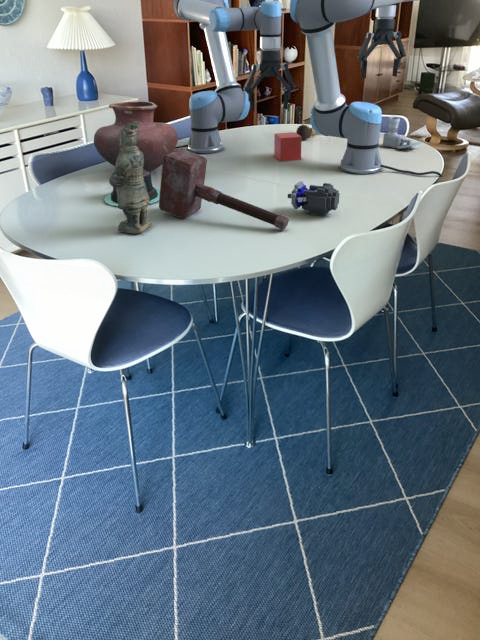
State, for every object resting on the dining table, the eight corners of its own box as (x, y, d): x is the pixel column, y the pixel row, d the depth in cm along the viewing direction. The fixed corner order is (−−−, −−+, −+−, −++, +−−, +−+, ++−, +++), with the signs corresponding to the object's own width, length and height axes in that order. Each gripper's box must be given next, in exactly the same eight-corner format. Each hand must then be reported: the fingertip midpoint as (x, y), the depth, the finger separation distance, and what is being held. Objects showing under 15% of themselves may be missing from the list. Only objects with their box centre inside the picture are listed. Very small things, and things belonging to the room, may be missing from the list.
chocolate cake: (91, 202, 180) (113, 186, 197) (142, 231, 182) (160, 212, 199) (107, 162, 172) (129, 148, 190) (160, 192, 174) (177, 176, 192)
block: (294, 154, 233) (294, 132, 229) (300, 159, 226) (301, 136, 221) (274, 155, 232) (274, 133, 227) (280, 161, 224) (280, 138, 220)
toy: (295, 178, 172) (342, 184, 166) (295, 205, 177) (340, 211, 171) (285, 186, 166) (333, 192, 160) (284, 213, 170) (331, 220, 164)
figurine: (338, 121, 266) (314, 124, 247) (336, 138, 269) (312, 141, 250) (313, 119, 272) (288, 121, 253) (312, 135, 275) (287, 138, 256)
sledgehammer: (299, 190, 156) (179, 147, 167) (285, 200, 148) (161, 154, 160) (286, 244, 166) (174, 200, 177) (272, 256, 158) (156, 209, 170)
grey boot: (392, 115, 240) (425, 120, 231) (389, 143, 246) (420, 148, 237) (382, 118, 234) (415, 123, 226) (379, 146, 240) (410, 152, 232)
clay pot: (187, 162, 225) (183, 96, 212) (166, 184, 199) (159, 111, 187) (116, 160, 230) (108, 96, 217) (87, 181, 204) (75, 110, 192)
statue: (131, 220, 168) (117, 116, 152) (158, 224, 164) (147, 118, 149) (109, 233, 159) (93, 124, 144) (138, 237, 156) (124, 126, 140)
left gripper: (298, 47, 211) (295, 105, 222) (235, 49, 205) (235, 109, 217) (305, 49, 205) (302, 109, 216) (240, 51, 199) (241, 113, 210)
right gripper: (409, 16, 222) (403, 74, 232) (351, 18, 217) (347, 77, 228) (419, 17, 215) (411, 76, 226) (359, 19, 211) (354, 79, 221)
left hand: (269, 109), depth 216 cm, fingers open, 13 cm apart
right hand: (379, 77), depth 227 cm, fingers open, 13 cm apart
